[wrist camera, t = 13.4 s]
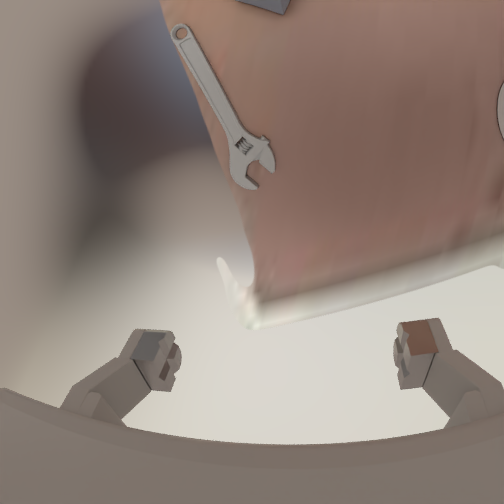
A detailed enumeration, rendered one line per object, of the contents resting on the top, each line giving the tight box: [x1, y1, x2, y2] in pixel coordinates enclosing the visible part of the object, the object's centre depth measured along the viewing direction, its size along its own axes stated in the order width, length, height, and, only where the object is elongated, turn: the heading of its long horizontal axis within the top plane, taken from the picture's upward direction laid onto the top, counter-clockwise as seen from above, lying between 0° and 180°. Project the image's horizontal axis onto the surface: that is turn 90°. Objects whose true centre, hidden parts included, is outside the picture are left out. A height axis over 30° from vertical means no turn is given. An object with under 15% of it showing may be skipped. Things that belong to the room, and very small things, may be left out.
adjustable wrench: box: [170, 24, 275, 190], centre depth 38 cm, size 25×6×2 cm, turn 22°
